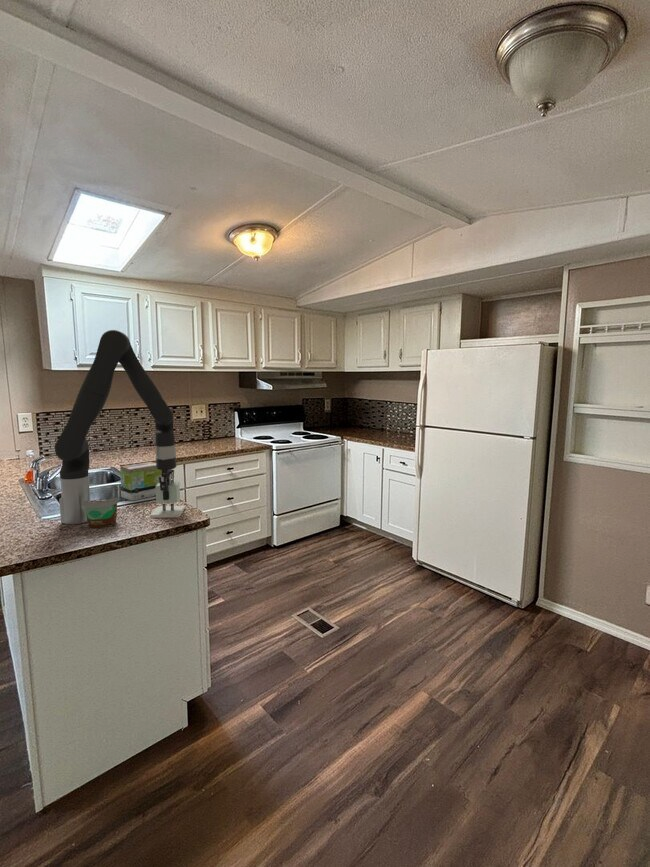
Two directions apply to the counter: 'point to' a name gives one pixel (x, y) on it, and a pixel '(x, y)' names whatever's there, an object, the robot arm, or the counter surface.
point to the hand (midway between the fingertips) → (168, 497)
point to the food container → (101, 512)
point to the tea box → (139, 480)
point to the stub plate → (167, 511)
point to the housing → (173, 493)
